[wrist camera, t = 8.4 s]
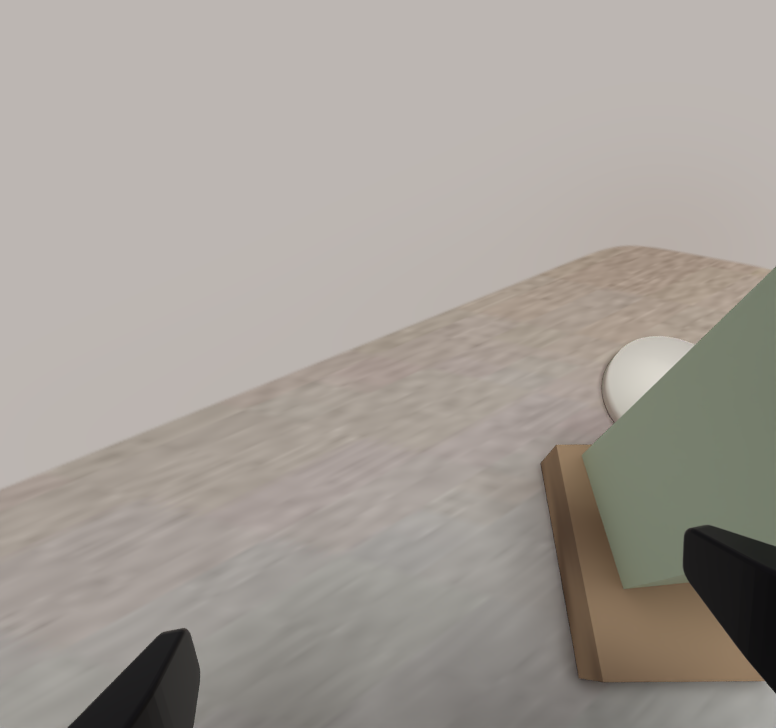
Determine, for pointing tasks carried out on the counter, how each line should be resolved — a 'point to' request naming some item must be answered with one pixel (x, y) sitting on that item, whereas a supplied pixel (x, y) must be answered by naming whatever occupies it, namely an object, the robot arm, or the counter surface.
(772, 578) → the robot arm
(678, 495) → the carton
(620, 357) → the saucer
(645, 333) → the counter surface
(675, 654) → the podium
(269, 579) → the counter surface
